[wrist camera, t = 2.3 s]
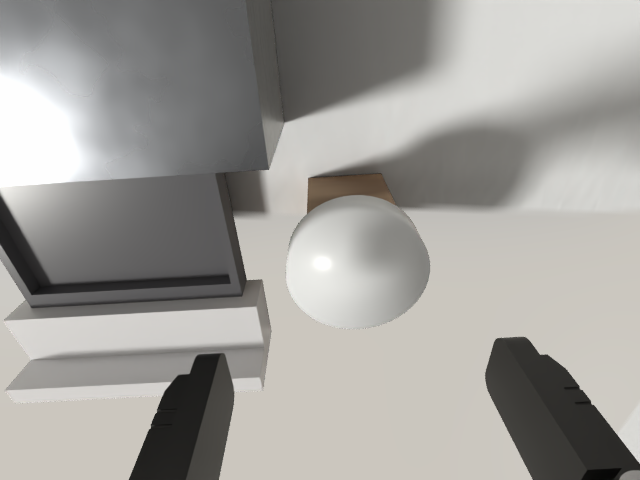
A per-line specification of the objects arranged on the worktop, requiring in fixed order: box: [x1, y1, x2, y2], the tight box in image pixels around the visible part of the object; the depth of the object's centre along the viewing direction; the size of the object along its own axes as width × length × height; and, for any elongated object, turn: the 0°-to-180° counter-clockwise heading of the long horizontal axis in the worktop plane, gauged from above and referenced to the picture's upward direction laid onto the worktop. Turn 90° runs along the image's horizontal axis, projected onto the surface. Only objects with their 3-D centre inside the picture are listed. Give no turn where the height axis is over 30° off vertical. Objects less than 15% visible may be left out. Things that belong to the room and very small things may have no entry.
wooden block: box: [307, 174, 396, 214], centre depth 18 cm, size 4×4×5 cm
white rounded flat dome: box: [286, 195, 430, 329], centre depth 15 cm, size 6×6×2 cm
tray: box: [0, 172, 271, 403], centre depth 18 cm, size 15×18×5 cm
